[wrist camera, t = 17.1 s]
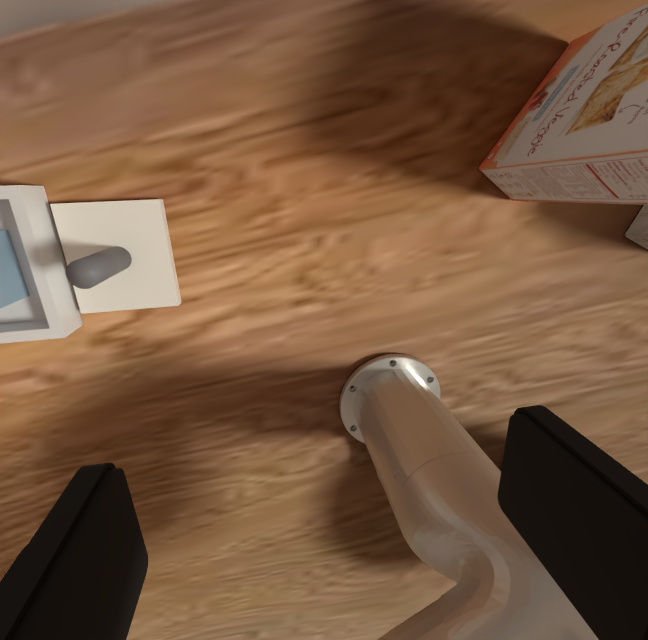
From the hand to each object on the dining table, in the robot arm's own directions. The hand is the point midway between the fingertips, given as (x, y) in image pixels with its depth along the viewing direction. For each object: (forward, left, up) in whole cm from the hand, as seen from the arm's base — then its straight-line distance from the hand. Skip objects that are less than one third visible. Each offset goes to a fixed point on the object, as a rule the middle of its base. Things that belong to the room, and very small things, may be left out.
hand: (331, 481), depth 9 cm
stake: (+2, +15, -30) cm, 34 cm away
